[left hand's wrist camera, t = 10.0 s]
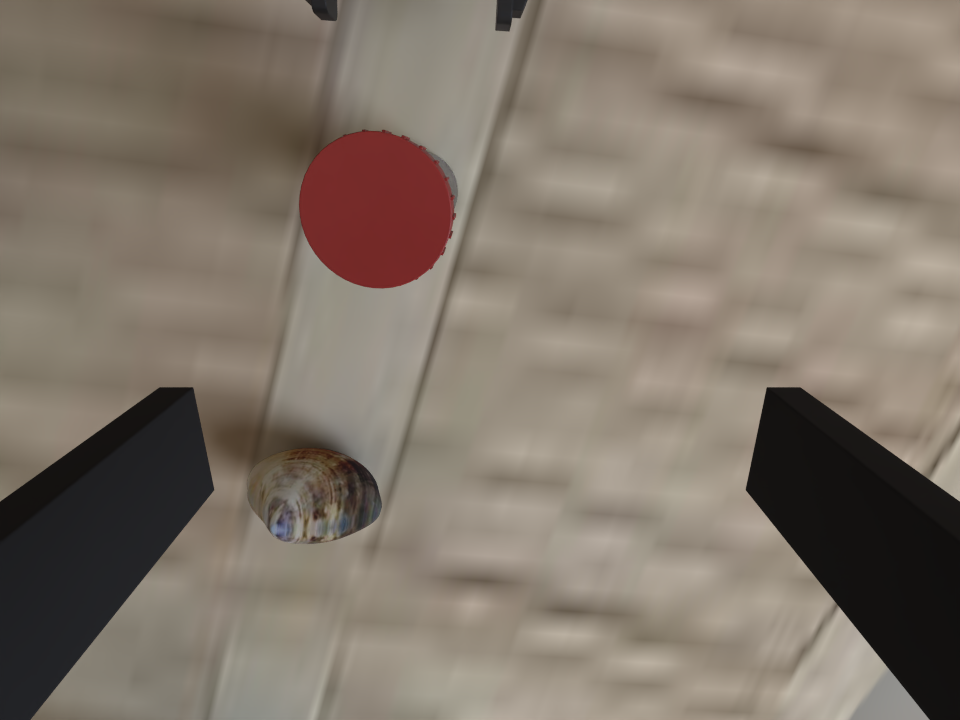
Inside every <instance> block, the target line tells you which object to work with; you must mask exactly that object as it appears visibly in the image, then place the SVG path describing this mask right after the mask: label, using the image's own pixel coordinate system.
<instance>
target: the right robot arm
mask: <svg viewBox="0 0 960 720" xmlns="http://www.w3.org/2000/svg"><path fill="white" fill-rule="evenodd" d="M306 1H307V2H308V3H309V4H310V5H312V9H313V12H314V13H315V14H316V15H317V16H318V17H319V18H320V19H321V20H329V21H336V20H337V0H306ZM526 3H527V0H497V9H496V29H495V30H496V31H510V27H511V22H512V18H521V15H522V13H523V11H524V8H525V6H526Z"/></svg>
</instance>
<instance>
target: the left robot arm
mask: <svg viewBox="0 0 960 720" xmlns="http://www.w3.org/2000/svg"><path fill="white" fill-rule="evenodd" d="M213 491H214V486H213V481H212V476H211V472H210V467H209V462H208V457H207V452H206V447H205V443H204V438H203V433H202V428H201V423H200V418H199V414H198V409H197V404H196V399H195V394H194V389H193V387H160V388H158V389H157V390H155V391H154V392H153V393H151V394H150V395H148V396H147V397H146V398H144V399H143V400H141V401H140V402H139V403H137V404H136V405H134V406H133V407H132V408H130V409H129V410H127V411H126V412H125V413H123V414H122V415H121V416H119V417H118V418H116V419H115V420H114V421H112V422H111V423H109V424H108V425H107V426H105V427H104V428H102V429H101V430H100V431H98V432H97V433H95V434H94V435H93V436H91V437H90V438H88V439H87V440H86V441H84V442H83V443H81V444H80V445H79V446H77V447H76V448H74V449H73V450H72V451H70V452H69V453H67V454H66V455H65V456H63V457H62V458H60V459H59V460H58V461H56V462H55V463H54V464H52V465H51V466H49V467H48V468H47V469H45V470H44V471H42V472H41V473H40V474H38V475H37V476H35V477H34V478H33V479H31V480H30V481H28V482H27V483H26V484H24V485H23V486H21V487H20V488H19V489H17V490H16V491H14V492H13V493H12V494H10V495H9V496H7V497H6V498H5V499H3V500H2V501H0V720H30V719H31V718H32V717H33V716H34V714H35V713H36V712H37V711H38V709H39V708H40V707H41V706H42V704H43V703H44V702H45V701H46V699H47V698H48V697H49V696H50V694H51V693H52V692H53V691H54V689H55V688H56V687H57V686H58V684H59V683H60V682H61V681H62V679H63V678H64V677H65V676H66V674H67V673H68V672H69V671H70V669H71V668H72V667H73V666H74V664H75V663H76V662H77V661H78V659H79V658H80V657H81V656H82V654H83V653H84V652H85V651H86V650H87V648H88V647H89V646H90V645H91V643H92V642H93V641H94V640H95V638H96V637H97V636H98V635H99V633H100V632H101V631H102V630H103V628H104V627H105V626H106V625H107V623H108V622H109V621H110V620H111V618H112V617H113V616H114V615H115V613H116V612H117V611H118V610H119V608H120V607H121V606H122V605H123V603H124V602H125V601H126V600H127V598H128V597H129V596H130V595H131V593H132V592H133V591H134V590H135V588H136V587H137V586H138V585H139V583H140V582H141V581H142V580H143V578H144V577H145V576H146V575H147V573H148V572H149V571H150V570H151V568H152V567H153V566H154V565H155V563H156V562H157V561H158V560H159V558H160V557H161V556H162V555H163V553H164V552H165V551H166V550H167V548H168V547H169V546H170V545H171V543H172V542H173V541H174V540H175V538H176V537H177V536H178V535H179V533H180V532H181V531H182V530H183V528H184V527H185V526H186V525H187V523H188V522H189V521H190V520H191V518H192V517H193V516H194V515H195V513H196V512H197V511H198V510H199V508H200V507H201V506H202V505H203V503H204V502H205V501H206V500H207V498H208V497H209V496H210V495H211V493H212V492H213ZM746 491H747V492H748V493H749V495H750V496H751V497H752V498H753V500H754V501H755V502H756V503H757V505H758V506H759V507H760V508H761V510H762V511H763V512H764V513H765V515H766V516H767V517H768V518H769V520H770V521H771V522H772V523H773V525H774V526H775V527H776V528H777V530H778V531H779V532H780V533H781V535H782V536H783V537H784V538H785V540H786V541H787V542H788V543H789V545H790V546H791V547H792V548H793V550H794V551H795V552H796V553H797V555H798V556H799V557H800V558H801V560H802V561H803V562H804V563H805V565H806V566H807V567H808V568H809V570H810V571H811V572H812V573H813V575H814V576H815V577H816V578H817V580H818V581H819V582H820V583H821V585H822V586H823V587H824V588H825V590H826V591H827V592H828V593H829V595H830V596H831V597H832V598H833V600H834V601H835V602H836V603H837V605H838V606H839V607H840V608H841V610H842V611H843V612H844V613H845V615H846V616H847V617H848V618H849V620H850V621H851V622H852V623H853V625H854V626H855V627H856V628H857V630H858V631H859V632H860V633H861V635H862V636H863V637H864V638H865V640H866V641H867V642H868V643H869V645H870V646H871V647H872V648H873V650H874V651H875V652H876V653H877V654H878V656H879V657H880V658H881V659H882V661H883V662H884V663H885V664H886V666H887V667H888V668H889V669H890V671H891V672H892V673H893V674H894V676H895V677H896V678H897V679H898V681H899V682H900V683H901V684H902V686H903V687H904V688H905V689H906V691H907V692H908V693H909V694H910V696H911V697H912V698H913V699H914V701H915V702H916V703H917V704H918V706H919V707H920V708H921V709H922V711H923V712H924V713H925V714H926V716H927V717H928V718H929V719H930V720H960V501H958V500H957V499H955V498H954V497H953V496H951V495H950V494H948V493H947V492H946V491H944V490H943V489H941V488H940V487H939V486H937V485H936V484H934V483H933V482H932V481H930V480H929V479H927V478H926V477H925V476H923V475H922V474H920V473H919V472H918V471H916V470H915V469H913V468H912V467H911V466H909V465H908V464H906V463H905V462H904V461H902V460H901V459H899V458H898V457H897V456H895V455H894V454H893V453H891V452H890V451H888V450H887V449H886V448H884V447H883V446H881V445H880V444H879V443H877V442H876V441H874V440H873V439H872V438H870V437H869V436H867V435H866V434H865V433H863V432H862V431H860V430H859V429H858V428H856V427H855V426H853V425H852V424H851V423H849V422H848V421H846V420H845V419H844V418H842V417H841V416H839V415H838V414H837V413H835V412H834V411H833V410H831V409H830V408H828V407H827V406H826V405H824V404H823V403H821V402H820V401H819V400H817V399H816V398H814V397H813V396H812V395H810V394H809V393H807V392H806V391H805V390H803V389H802V388H800V387H767V389H766V394H765V399H764V404H763V409H762V414H761V418H760V423H759V428H758V433H757V438H756V443H755V447H754V452H753V457H752V462H751V467H750V472H749V476H748V481H747V486H746Z"/></svg>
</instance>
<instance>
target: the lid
mask: <svg viewBox="0 0 960 720" xmlns="http://www.w3.org/2000/svg"><path fill="white" fill-rule="evenodd" d="M409 139H410V138H408V137H406V136H403V135H402V137H399V136H396V135H393V134H391V132H389V131H386V130H382V132H380V131H368V130H362V132H356V133H352V134H348V135H346V134H345V135H343V137H341V138H338V139H337V140H335V141H333V142H332V143H330V144H328V145H327V146H326V147H325V148H324V149H323V150H321V152H320V153H319V154H318V155H317V156H316V157H315V158H314V160H313V161H312V163H311V164H310V166H309V168H308V170H307V172H306V174H305V176H304V179H303V182H302V186H301V191H300V199H299V210H300V218H301V223H302V227H303V230H304V233H305V236H306V238H307V240H308V242H309V245H310V246H311V248H312V249H313V251H314V253H315V254H316V255H317V256H318V258H319V259H320V260H321V261H322V262H323V263H324V264H325V265H326V266H327V267H328V268H329V269H330V270H331V271H333V272H334V273H335V274H337V275H338V276H340V277H342V278H343V279H345V280H347V281H349V282H352V283H354V284H357V285H360V286H364V287H370V288H392V287H396V286H401V285H404V284H406V283H409V282H411V281H413V280H417V279H418V278H419V277H420V276H421V275H423V274H424V273H426V272H427V271H428V270H429V269H432V268H433V265H434V263H435V262H436V261H437V260H438V258H439V257H440V255H443V254H444V252H445V249H446V247H445V246H446V243H447V241H448V238H450V239H451V236H452V233H453V231H451V229H452V225H453V220H454V219H455V217H456V213H454V202H453V200H454V198H455V195H452V191H451V188H450V185H449V182H448V180H449V177H446V176H445V174H444V172H443V170H442V169H441V167H440V166H439V163H440V162H439V161H438V160H435V159H434V158H433V157H432V156H431V155H430V154H429V153H428V152H427V151H425V150H426V148H425V147H423V146H418V145H417V144H415V143H413V142H411V141H409Z"/></svg>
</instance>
